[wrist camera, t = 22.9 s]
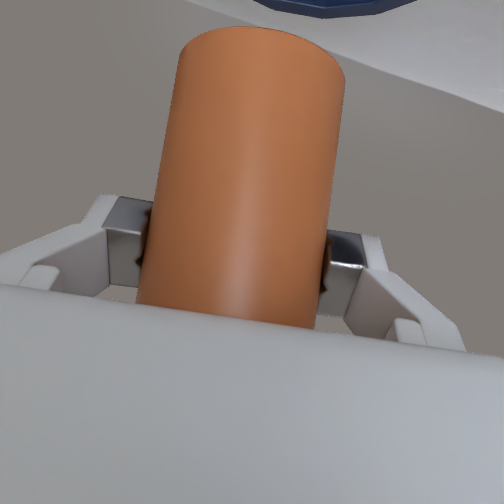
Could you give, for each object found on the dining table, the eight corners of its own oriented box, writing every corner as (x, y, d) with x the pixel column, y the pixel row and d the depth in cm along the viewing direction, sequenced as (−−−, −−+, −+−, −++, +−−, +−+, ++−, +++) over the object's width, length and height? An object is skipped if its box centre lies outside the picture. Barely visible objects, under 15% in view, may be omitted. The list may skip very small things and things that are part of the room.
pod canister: (183, 102, 15) (141, 341, 14) (164, 6, 10) (98, 358, 9) (327, 125, 15) (296, 364, 14) (373, 42, 10) (332, 391, 9)
